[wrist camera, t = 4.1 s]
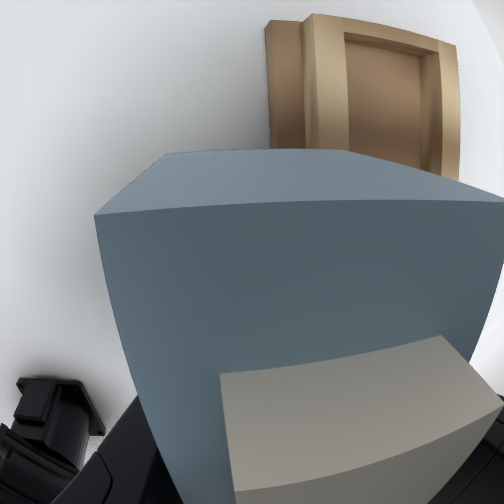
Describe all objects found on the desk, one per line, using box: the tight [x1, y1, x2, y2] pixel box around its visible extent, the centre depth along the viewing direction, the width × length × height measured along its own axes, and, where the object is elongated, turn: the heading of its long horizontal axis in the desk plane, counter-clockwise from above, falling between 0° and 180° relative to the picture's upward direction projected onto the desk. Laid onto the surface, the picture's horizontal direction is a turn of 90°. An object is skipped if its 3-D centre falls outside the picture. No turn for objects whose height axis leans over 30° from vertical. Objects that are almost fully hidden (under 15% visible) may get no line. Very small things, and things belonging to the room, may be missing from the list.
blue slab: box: [94, 149, 504, 504], centre depth 6 cm, size 10×4×6 cm, turn 1°
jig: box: [265, 13, 460, 181], centre depth 16 cm, size 14×12×4 cm
